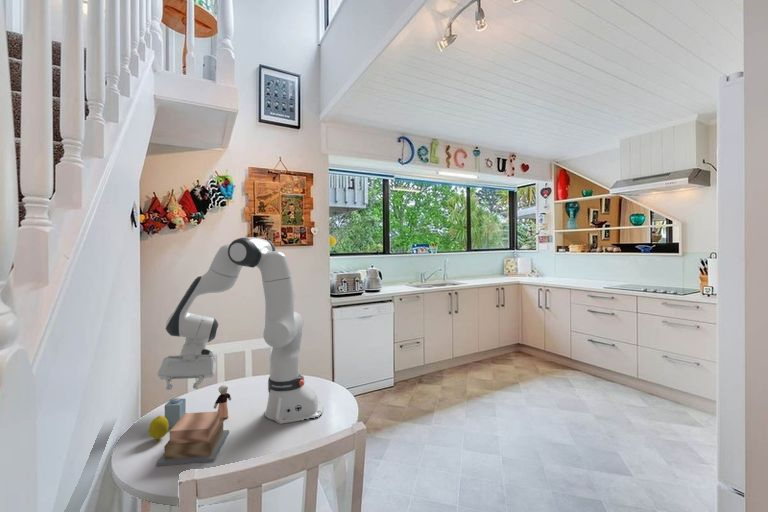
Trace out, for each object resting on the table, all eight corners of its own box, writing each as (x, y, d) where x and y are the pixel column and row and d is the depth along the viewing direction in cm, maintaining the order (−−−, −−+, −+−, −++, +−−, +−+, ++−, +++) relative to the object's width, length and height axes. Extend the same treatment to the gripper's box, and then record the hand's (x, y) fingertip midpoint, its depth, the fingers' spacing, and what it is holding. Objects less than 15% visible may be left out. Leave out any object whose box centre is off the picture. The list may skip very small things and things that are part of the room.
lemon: (146, 445, 111) (146, 421, 111) (152, 436, 116) (152, 413, 116) (165, 442, 112) (165, 419, 112) (170, 433, 118) (170, 411, 117)
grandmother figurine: (221, 423, 125) (221, 389, 125) (211, 422, 126) (212, 388, 125) (234, 413, 132) (234, 381, 132) (225, 412, 133) (225, 380, 133)
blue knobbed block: (185, 419, 127) (185, 396, 127) (179, 426, 122) (179, 402, 122) (170, 420, 127) (171, 397, 126) (164, 427, 122) (164, 403, 121)
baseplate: (229, 432, 119) (229, 429, 119) (214, 461, 103) (214, 458, 103) (179, 436, 116) (179, 433, 116) (156, 466, 101) (156, 462, 101)
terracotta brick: (223, 432, 117) (223, 409, 117) (210, 455, 104) (210, 430, 104) (182, 435, 115) (182, 412, 115) (164, 459, 102) (164, 433, 102)
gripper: (162, 352, 135) (149, 386, 126) (216, 351, 139) (208, 384, 129) (167, 359, 140) (155, 393, 131) (220, 358, 143) (212, 390, 134)
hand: (182, 388), depth 130 cm, fingers open, 8 cm apart
